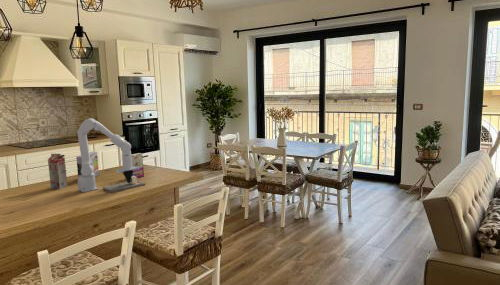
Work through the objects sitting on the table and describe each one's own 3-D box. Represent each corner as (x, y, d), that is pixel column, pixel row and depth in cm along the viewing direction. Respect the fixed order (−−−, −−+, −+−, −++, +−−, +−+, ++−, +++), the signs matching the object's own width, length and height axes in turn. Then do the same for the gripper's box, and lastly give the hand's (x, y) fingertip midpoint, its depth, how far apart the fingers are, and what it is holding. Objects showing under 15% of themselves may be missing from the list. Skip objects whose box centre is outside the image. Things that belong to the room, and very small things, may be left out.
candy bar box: (139, 175, 256) (138, 152, 253) (144, 176, 253) (142, 153, 250) (126, 178, 247) (124, 155, 245) (130, 179, 244) (128, 156, 242)
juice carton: (60, 189, 224) (56, 154, 221) (50, 188, 225) (47, 154, 222) (67, 186, 231) (64, 152, 227) (58, 186, 232) (55, 152, 229)
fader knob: (132, 184, 227) (132, 177, 226) (129, 182, 230) (128, 176, 229) (137, 183, 229) (136, 176, 229) (134, 181, 232) (133, 175, 232)
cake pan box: (83, 182, 240) (81, 156, 237) (76, 182, 241) (74, 156, 238) (99, 175, 259) (97, 151, 256) (93, 175, 260) (91, 151, 257)
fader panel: (111, 192, 214) (111, 190, 213) (103, 189, 222) (103, 187, 222) (145, 185, 229) (144, 183, 229) (135, 182, 237) (135, 180, 237)
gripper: (119, 164, 217) (120, 185, 219) (140, 160, 228) (142, 181, 230) (113, 162, 222) (115, 183, 224) (135, 159, 232) (136, 179, 234)
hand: (128, 182), depth 227 cm, fingers closed
